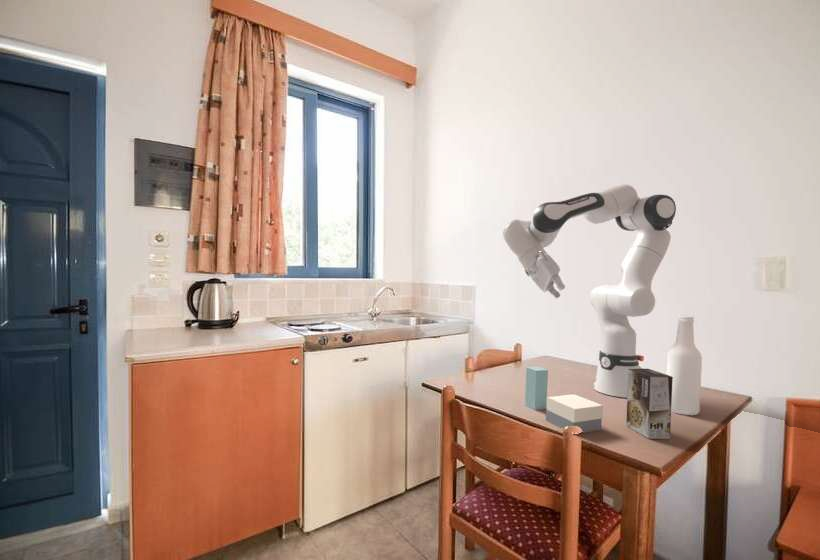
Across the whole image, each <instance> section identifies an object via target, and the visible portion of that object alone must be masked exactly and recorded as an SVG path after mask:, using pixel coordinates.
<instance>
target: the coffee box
mask: <svg viewBox="0 0 820 560" xmlns="http://www.w3.org/2000/svg"><path fill="white" fill-rule="evenodd" d="M672 380H673V377H672V376H669V375H667V373H662V372H659V371H657V370H653V369H650V368H642V369H628V389H627V398H626V423H625V425H626V426H627V427H628V428H629V429H632V430H633V431H635V432H637V434H640V435H641V436H643V437H645V438H647V439H648V440H649V439H650V440H654V439H655V440H656V439H657V440H670V438H671V425H672V424H671V422H672V412H671V403H672Z"/></svg>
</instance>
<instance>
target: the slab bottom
mask: <svg viewBox="0 0 820 560" xmlns="http://www.w3.org/2000/svg"><path fill="white" fill-rule="evenodd" d="M602 419H603V418H602ZM602 419H595V420H588V421H581V422H575V423H574V422H572V421H570V420H568V419H565V418H563V417H561V416H559V415H557V414H555V413H553V412H551V411H549V410H547V408H546V409H545V421H546V422H547V423H550V424H552V425H554V426H556V427H558V428H559V429H561V428H564V427H566V426H578V427H580V428H581V429H582V431H583V433H582V434H585V433H588V432H587V431H591V432H594V431H593V430H597V431H601V430H602ZM600 429H601V430H600Z"/></svg>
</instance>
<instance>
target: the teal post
mask: <svg viewBox="0 0 820 560" xmlns="http://www.w3.org/2000/svg"><path fill="white" fill-rule="evenodd" d="M525 369H526V372H525V373H526V374H525V394H524V395H525V398H524V399H525V401H524V406H526V407H527V408H530V409H532V410H534V411H537V410H546V409H547V397H548V382H549V381H548V377H549V370H548V369H547V368H543V367H541V366H528V367H526V368H525Z"/></svg>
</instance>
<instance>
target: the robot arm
mask: <svg viewBox="0 0 820 560" xmlns="http://www.w3.org/2000/svg"><path fill="white" fill-rule="evenodd" d="M676 211H677V205H676V202H675V200H674V199H673V198H672V197H671V196H670V195H667V194H653V195H650V196H646V197H642V198H640V197H639V196H638V192H637V190H636V189H635V188H634V187H633V186H632V185H628V184H619V185H614V186H611V187H607V188H605V189H602V190H600V191H597V192H590V193H585V194H581V195H578V196H575V197H572V198H568V199H565V200H560V201H549V202H544V203H541V204H540V205H538V206H537V207H536V208H535V210H534V212H533V216H532V220H520V219H518V218H517V219H513V220H511V221H510V222H509V223H508V224H507V225H506V226H505V228H504V230H503V233H502V238H503V239H504V241H505V243H506V245H507V246H508V247H509V249H510V250H511V252H512V253H514V254H515V255H516V256H517V258H518V261H519V262H520V264H521V265H522V267H523V269H524V272H525V274H526V276H527V277H530V278H531V279H532V281H533V282H534V283H535V285H536V286H537V287H538V288H539V290H541V291H542V292H543V293H546V292H548V293H549V294H551V295H552V296H553V297H554V299H556V300H557V299H558V298H560V297H561V294H560V291H561V292H562V290H565V288H566V285H565V284H564V283H563V281H562V278H561V276H560V274H559V273H560V272H561V268H560V266H559V264H558V263H557V262H556V261H555V259H553V258H552V256H551V255H549V254H548V252H547V251H546V250H545V249H544V248H546V247H548V246H550V245H551V244H552V243H553V242H554V241H555V239H556V238H557V236H558V234H559V232H560V230H561V229H562V227H563V226H564V225H565V223H567V222H568V220H570V219H574V218H577V217H580V216H582V215H583V216H584V218H585V219H586V220H587V221H588V222H589V223H592V224H595V225H597V224H603V223H607V222H609V221H611V220H613V219H614V220H615V222H616V224H617V226H618V227H619V228H621V230H624V231H629V232H634V231H636V237H635V240H634V241H633V243H631V246H630V248H629V250H628V251H627V253H626V254H625V256H624V258H623V260H622V262H621V263H620V271H621V272H622V273H623V274H622V278H621V281H620V282H619V283H606V284H605V283H604V284H601V285H598V286H596V287H594V288H593V289H592V290H591V292H590V294H589V295H590V296H589V301H590V305H591V306H592V307H593V309H595V312H596V313H597V317H598V322H599V325H600V332H601V333H600V335H601V336H600V340H601V341H600V350H599V353H598V361H599V363H598V365H597V370H596V376H595V381H594V382H593V386H594V387H593V388H594V390H595V391H597V392H598V393H601V394H603V395H604V394H605V395H606V396H607V395H609V396H612V397H618V398H625V399H627V389H628V369H643V368H642V367H641V366H640V363H639V361H640V362H644V361H645V357H644V355H641V354H640V355H639V354H636V351H637V349H636V348H637V333H636V330H635V329H634V328H633V327H632V326H631V324H630V322H629V319H628V318H629V317H631V318H633V317H635V318H636V317H643V316H648V315H649V314H651V313H652V311H653V309H654V308H655V305H656V298H655V295H654V293H653V292H652V283H653V280H654V279H653V278H654V276H655V274H656V272H657V271H658V269H659V267H660V265H661V263H662V261H663V259H664V258H665V256H666V253H667V252H668V248H669V245H670V242H671V238H672V236H671V233H670V232H669V231H668V228H670V227H671V225H672V224H673V220H674V219H675V216H676ZM554 284H555V285H556V288H557V289H558V290H559V291H558V290H556V288H555V285H554Z"/></svg>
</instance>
